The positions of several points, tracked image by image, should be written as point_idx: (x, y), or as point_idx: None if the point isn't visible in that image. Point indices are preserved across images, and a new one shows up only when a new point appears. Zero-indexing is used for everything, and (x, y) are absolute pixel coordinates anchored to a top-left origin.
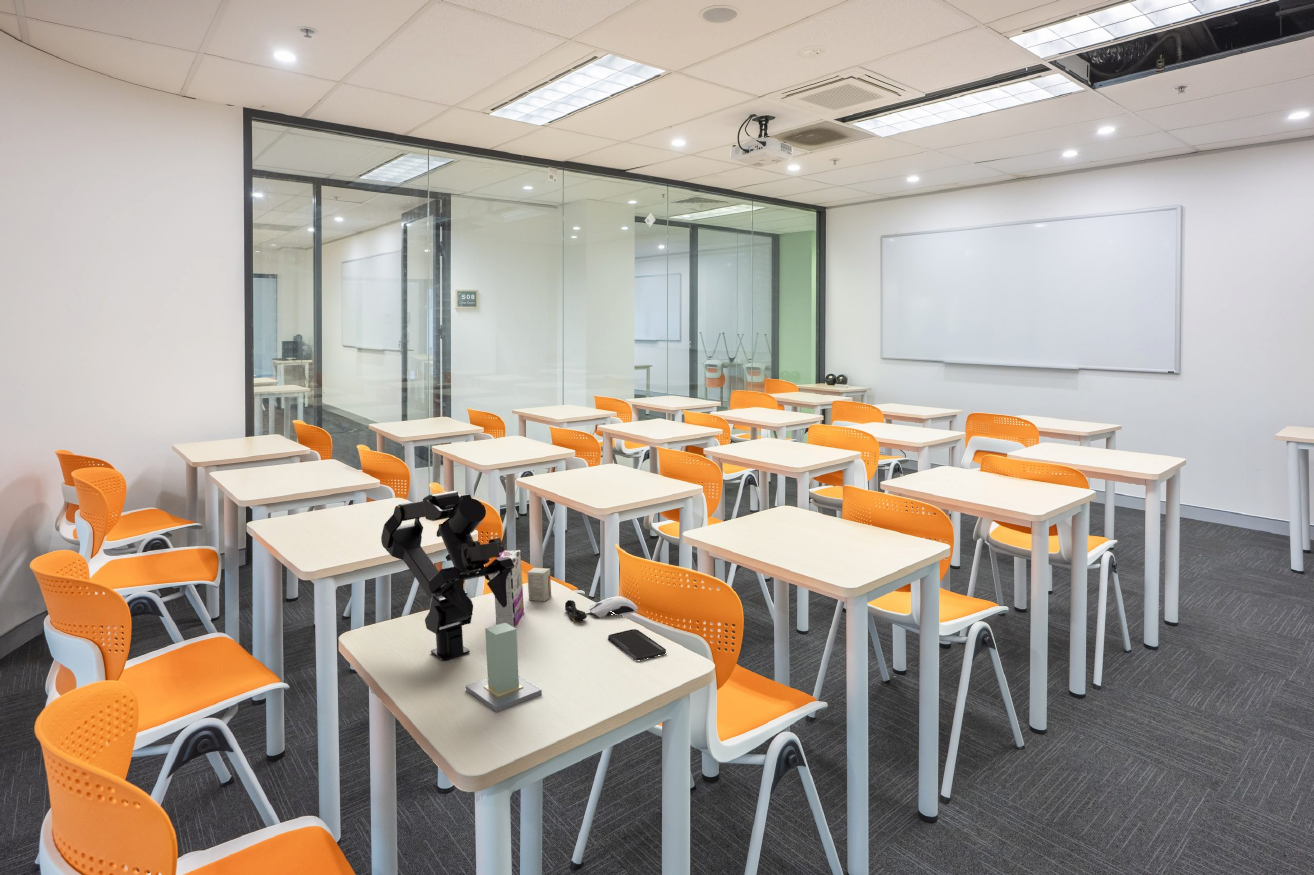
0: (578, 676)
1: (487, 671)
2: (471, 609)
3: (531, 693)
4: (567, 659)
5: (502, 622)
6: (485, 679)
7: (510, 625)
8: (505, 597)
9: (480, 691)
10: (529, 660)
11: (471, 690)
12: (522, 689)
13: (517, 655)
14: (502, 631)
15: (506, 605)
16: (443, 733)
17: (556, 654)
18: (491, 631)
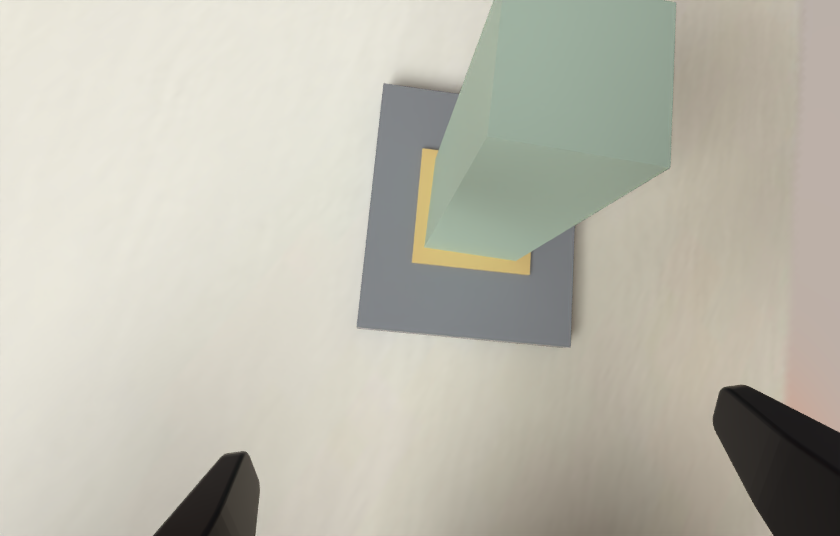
0: (179, 93)
1: (539, 245)
2: (761, 413)
3: (429, 90)
4: (76, 252)
5: None
6: (483, 332)
7: (496, 54)
8: (181, 525)
9: (555, 255)
10: (198, 385)
11: (571, 297)
12: (432, 141)
13: (462, 86)
14: (609, 10)
15: (235, 452)
16: (754, 145)
17: (63, 338)
18: (668, 75)
